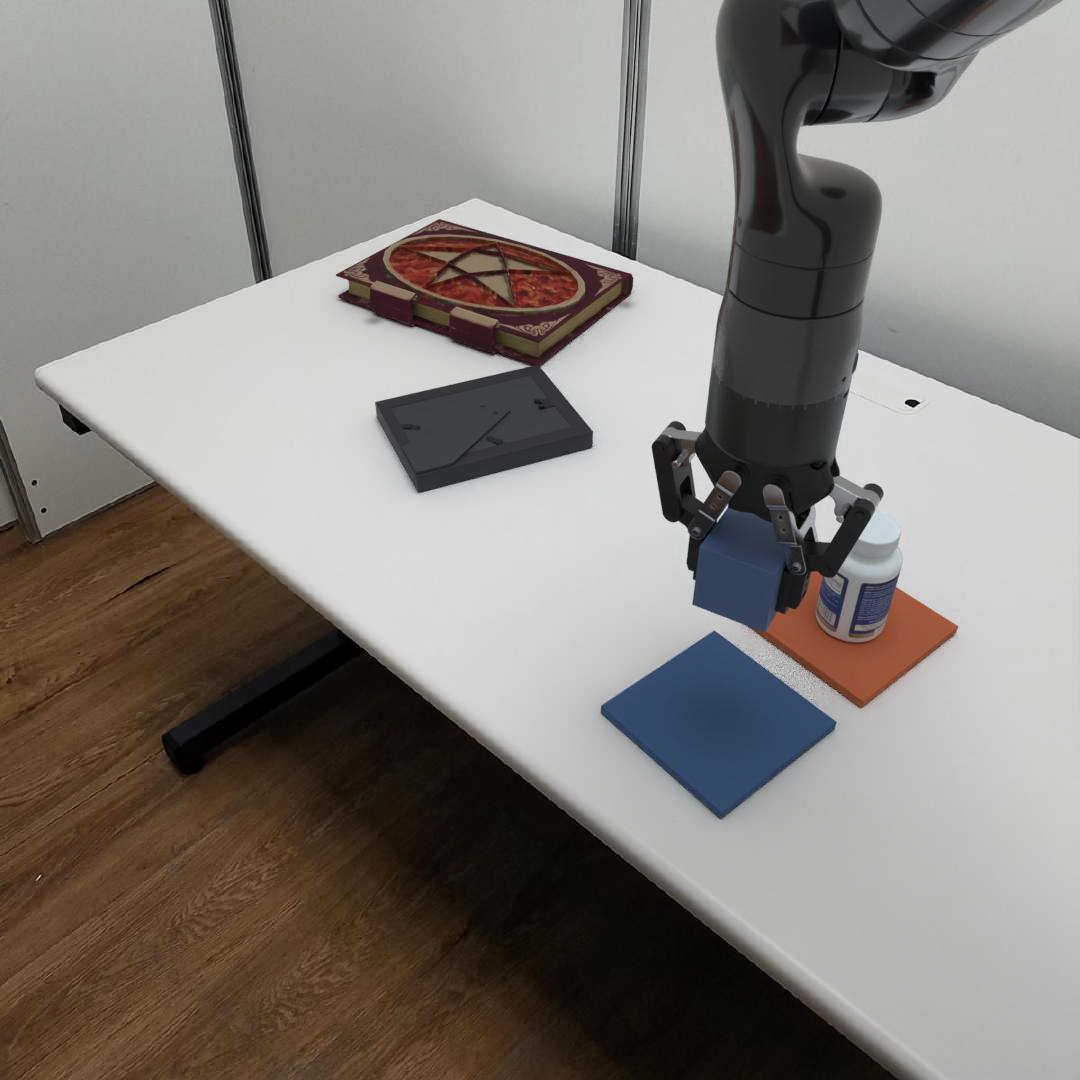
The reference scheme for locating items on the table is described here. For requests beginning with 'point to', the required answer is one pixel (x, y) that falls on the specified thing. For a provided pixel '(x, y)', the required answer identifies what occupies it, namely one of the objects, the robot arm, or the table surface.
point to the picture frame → (481, 427)
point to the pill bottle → (863, 584)
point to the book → (486, 290)
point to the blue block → (740, 570)
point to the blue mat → (718, 722)
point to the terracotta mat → (860, 644)
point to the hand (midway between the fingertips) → (744, 588)
